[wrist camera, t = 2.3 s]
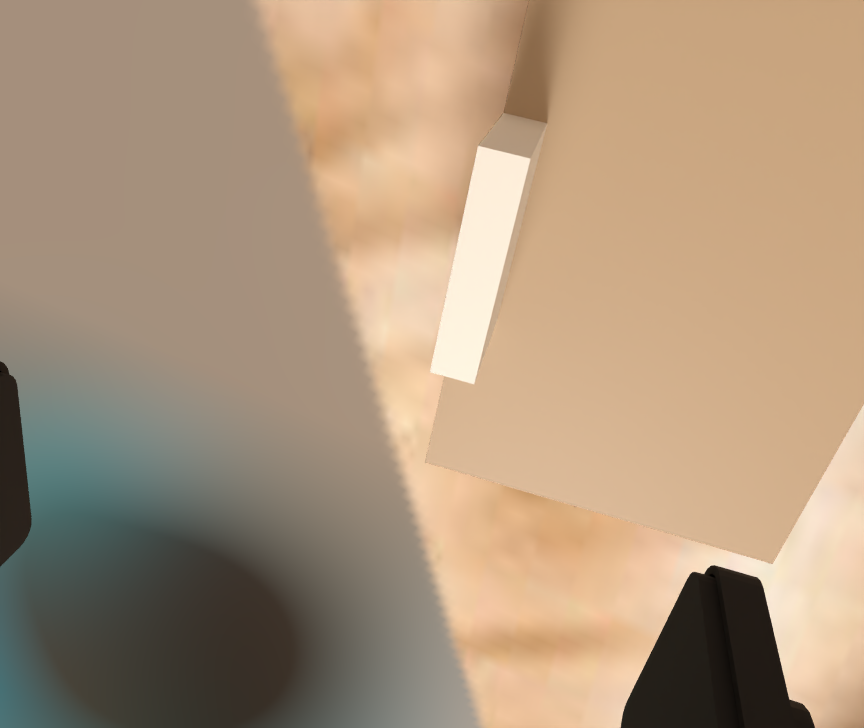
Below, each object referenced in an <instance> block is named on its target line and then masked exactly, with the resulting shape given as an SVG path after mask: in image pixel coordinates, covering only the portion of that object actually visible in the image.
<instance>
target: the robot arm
mask: <svg viewBox="0 0 864 728" xmlns="http://www.w3.org/2000/svg"><path fill="white" fill-rule="evenodd" d="M29 501H30V500H29V491H28V482H27V473H26V464H25V454H24V445H23V435H22V426H21V417H20V407H19V398H18V389H17V383H16V380H15V379H14V377H13V376H11V375H9V371H8V368H7V367H6V365H5V364H4V363H2V362H0V566H1V565H2V564H3V563H4V562H5V561H6V560H7V559H8V558H9V557H10V556H11V555H12V554H13V553H14V552H15V551H16V550H17V549H18V548H19V547H20V546H21V545H22V544H23V543H24V541H25V539H26V538H27V536H28V533H29V531H30V528H31V510H30V502H29ZM621 728H815V726H814V723H813V720H812V718H811V715H810V712H809V711H808V710H807V709H806V707H805V706H804V705H803V704H801V703H798V702H795V701H792V700H789V697H788V692H787V688H786V684H785V679H784V675H783V671H782V666H781V662H780V658H779V654H778V649H777V645H776V641H775V636H774V632H773V628H772V623H771V619H770V615H769V610H768V606H767V602H766V598H765V593H764V589H763V586H762V583H761V581H760V580H759V579H758V578H757V577H753V576H750V575H746V574H743V573H739V572H736V571H732V570H729V569H725V568H722V567H718V566H715V565H714V566H710V567H709V568H708V569H707V570H706V572H705V574H701V573H697V572H692V573H691V574H690V576H689V577H688V579H687V581H686V583H685V585H684V587H683V589H682V591H681V593H680V595H679V597H678V599H677V601H676V603H675V605H674V607H673V609H672V611H671V613H670V615H669V617H668V619H667V621H666V623H665V626H664V628H663V630H662V632H661V634H660V636H659V638H658V640H657V642H656V644H655V646H654V648H653V650H652V652H651V654H650V656H649V658H648V660H647V662H646V664H645V666H644V668H643V670H642V672H641V674H640V676H639V678H638V680H637V682H636V684H635V686H634V688H633V690H632V692H631V694H630V697H629V699H628V701H627V703H626V705H625V709H624V712H623V717H622V723H621Z"/></svg>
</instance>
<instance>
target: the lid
mask: <svg viewBox="0 0 864 728" xmlns="http://www.w3.org/2000/svg"><path fill="white" fill-rule="evenodd" d="M430 372H431V373H435V374H439V375H442V376H444V380H443V384H442V389H441V393H440V398H439V402H438V407H437V411H436V416H435V420H434V424H433V429H432V433H431V438H430V442H429V447H428V451H427V456H426V460H425V463H429V464H432V465H435V466H439V467H442V468H446V469H449V470H453V471H456V472H459V473H463V474H466V475H470V476H473V477H477V478H480V479H483V480H487V481H490V482H494V483H497V484H501V485H504V486H507V487H511V488H514V489H518V490H521V491H525V492H528V493H531V494H535V495H538V496H542V497H545V498H548V499H552V500H555V501H559V502H562V503H566V504H569V505H572V506H576V507H579V508H583V509H586V510H590V511H593V512H596V513H600V514H603V515H607V516H610V517H614V518H617V519H620V520H624V521H627V522H631V523H634V524H638V525H641V526H644V527H648V528H651V529H655V530H658V531H662V532H665V533H668V534H672V535H675V536H679V537H682V538H686V539H689V540H692V541H696V542H699V543H703V544H706V545H710V546H713V547H716V548H720V549H723V550H727V551H730V552H733V553H737V554H740V555H744V556H747V557H751V558H754V559H757V560H761V561H764V562H768V563H771V564H773V562H774V560H775V559H776V557H777V555H778V553H779V552H780V550H781V548H782V546H783V545H784V543H785V541H786V539H787V538H788V536H789V534H790V532H791V531H792V529H793V527H794V525H795V523H796V522H797V520H798V518H799V516H800V515H801V513H802V511H803V509H804V508H805V506H806V504H807V502H808V501H809V499H810V497H811V495H812V494H813V492H814V490H815V488H816V487H817V485H818V483H819V481H820V480H821V478H822V476H823V474H824V473H825V471H826V469H827V467H828V466H829V464H830V462H831V460H832V459H833V457H834V455H835V453H836V452H837V450H838V448H839V446H840V445H841V443H842V441H843V439H844V437H845V436H846V434H847V432H848V430H849V429H850V427H851V425H852V423H853V422H854V420H855V418H856V416H857V415H858V413H859V411H860V409H861V408H862V406H863V404H864V0H529V2H528V6H527V11H526V15H525V20H524V24H523V29H522V33H521V38H520V42H519V46H518V51H517V55H516V60H515V64H514V69H513V73H512V78H511V82H510V86H509V91H508V95H507V100H506V104H505V109H504V113H503V114H502V116H501V117H500V118H499V119H498V121H497V122H496V123H495V125H494V126H493V127H492V128H491V130H490V131H489V132H488V134H487V135H486V136H485V138H484V139H483V140H482V141H481V143H480V144H479V145H478V149H477V153H476V158H475V163H474V168H473V172H472V177H471V182H470V186H469V191H468V196H467V200H466V205H465V210H464V215H463V219H462V224H461V229H460V233H459V238H458V243H457V247H456V252H455V257H454V262H453V266H452V271H451V276H450V280H449V285H448V290H447V294H446V299H445V304H444V309H443V313H442V318H441V323H440V327H439V332H438V337H437V341H436V346H435V351H434V356H433V360H432V365H431V370H430Z"/></svg>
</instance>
